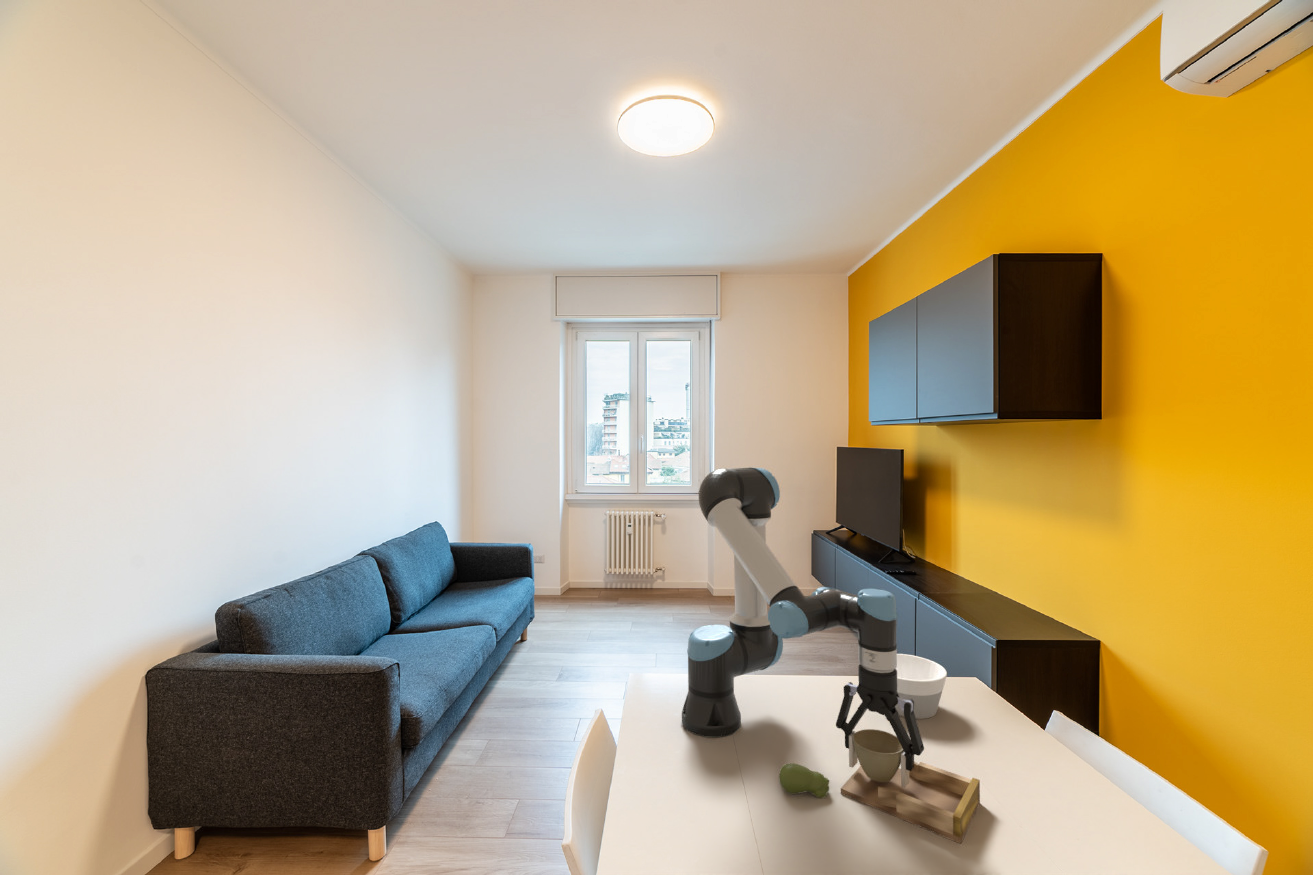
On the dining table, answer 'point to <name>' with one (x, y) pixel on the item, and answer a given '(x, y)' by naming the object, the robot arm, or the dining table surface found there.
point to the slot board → (922, 798)
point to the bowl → (919, 684)
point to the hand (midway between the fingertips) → (878, 773)
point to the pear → (802, 780)
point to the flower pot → (878, 753)
